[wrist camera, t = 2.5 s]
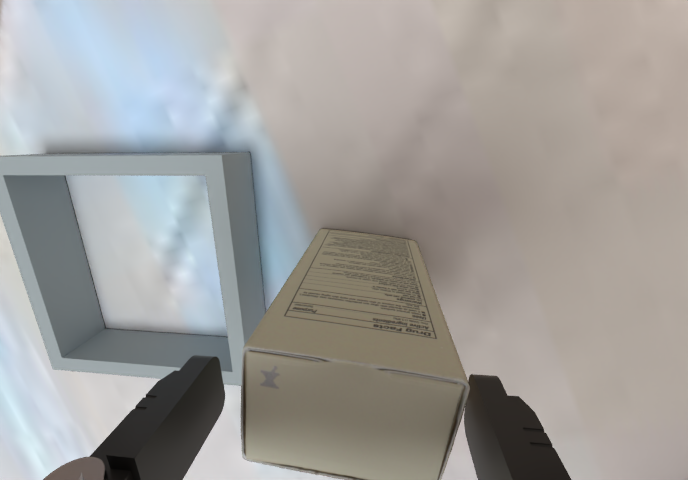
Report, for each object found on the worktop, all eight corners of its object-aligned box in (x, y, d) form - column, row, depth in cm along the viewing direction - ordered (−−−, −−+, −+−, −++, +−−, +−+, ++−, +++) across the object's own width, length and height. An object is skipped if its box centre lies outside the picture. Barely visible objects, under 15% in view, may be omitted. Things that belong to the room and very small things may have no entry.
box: (250, 152, 19) (221, 155, 16) (269, 351, 24) (249, 386, 20) (45, 153, 21) (-19, 156, 18) (96, 338, 25) (53, 369, 22)
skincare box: (314, 288, 22) (228, 462, 10) (319, 225, 20) (227, 343, 9) (411, 303, 21) (440, 507, 9) (423, 240, 20) (475, 387, 8)
